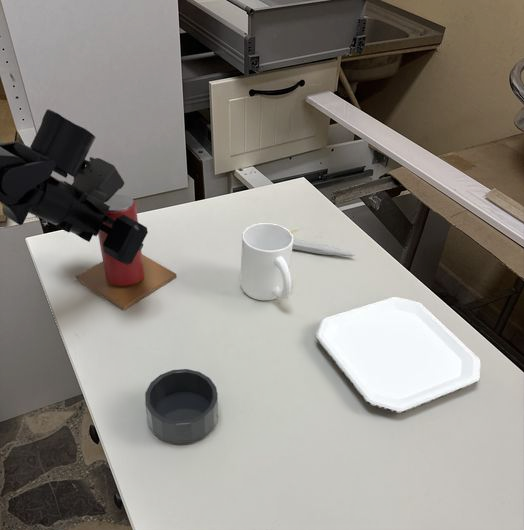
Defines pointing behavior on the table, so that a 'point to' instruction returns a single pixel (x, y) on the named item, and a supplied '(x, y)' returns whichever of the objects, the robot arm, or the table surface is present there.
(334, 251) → the tool
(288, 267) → the mug
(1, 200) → the robot arm
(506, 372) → the table surface
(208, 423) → the bowl
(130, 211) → the can
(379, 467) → the table surface
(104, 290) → the coaster
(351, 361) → the plate
